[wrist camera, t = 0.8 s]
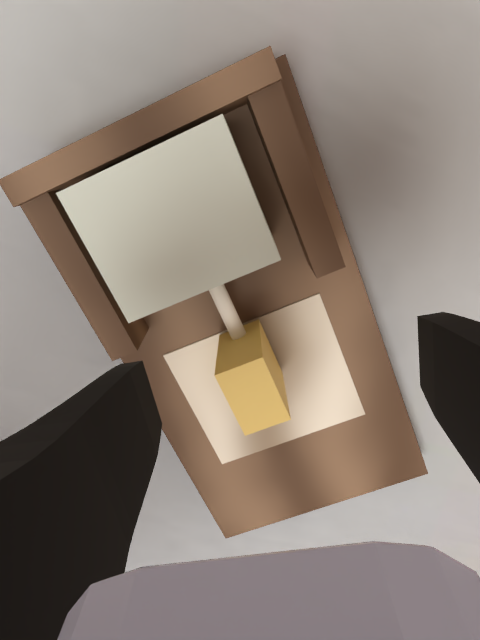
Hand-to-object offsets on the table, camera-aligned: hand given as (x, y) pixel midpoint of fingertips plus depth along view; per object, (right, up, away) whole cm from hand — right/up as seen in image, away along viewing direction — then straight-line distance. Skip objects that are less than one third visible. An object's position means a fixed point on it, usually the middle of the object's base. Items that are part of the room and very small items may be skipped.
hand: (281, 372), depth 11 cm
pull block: (-2, +3, +8) cm, 9 cm away
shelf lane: (0, 0, +11) cm, 11 cm away
